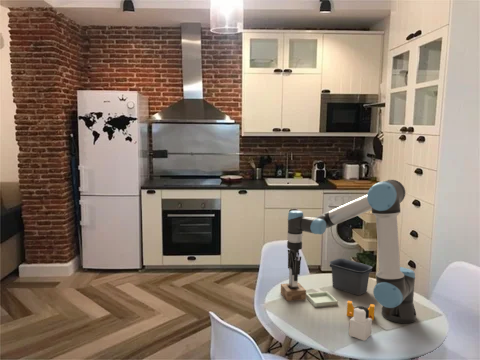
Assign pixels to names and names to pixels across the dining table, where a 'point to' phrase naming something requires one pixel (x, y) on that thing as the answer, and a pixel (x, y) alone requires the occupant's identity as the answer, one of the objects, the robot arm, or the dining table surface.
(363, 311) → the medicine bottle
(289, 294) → the hollow wooden square
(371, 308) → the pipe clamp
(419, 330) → the dining table surface
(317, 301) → the tray
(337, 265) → the storage bin
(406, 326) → the dining table surface
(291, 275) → the grey wooden beam
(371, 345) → the dining table surface
